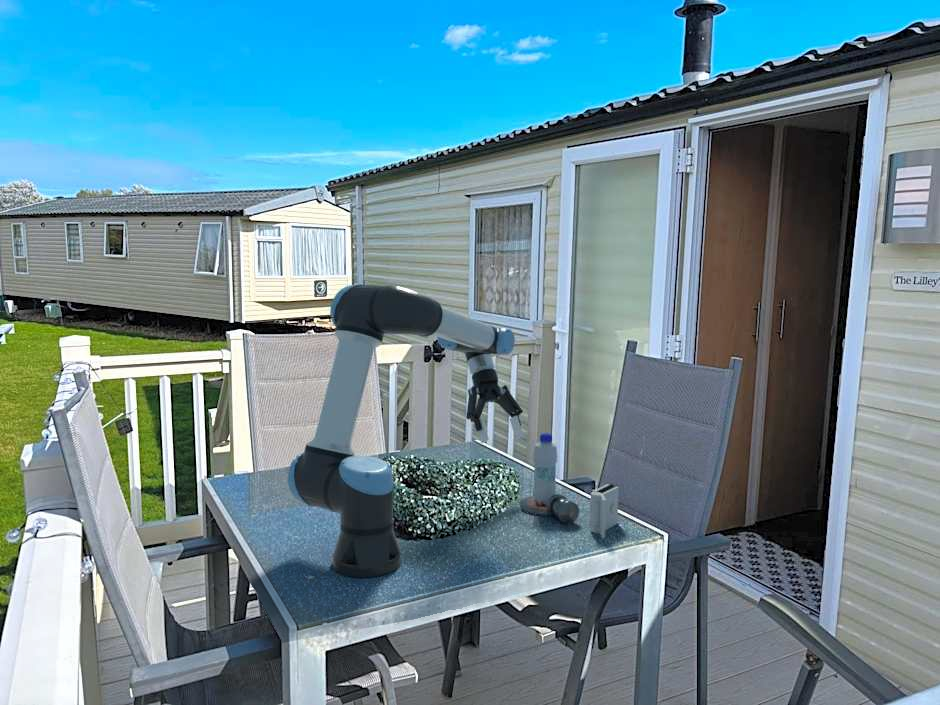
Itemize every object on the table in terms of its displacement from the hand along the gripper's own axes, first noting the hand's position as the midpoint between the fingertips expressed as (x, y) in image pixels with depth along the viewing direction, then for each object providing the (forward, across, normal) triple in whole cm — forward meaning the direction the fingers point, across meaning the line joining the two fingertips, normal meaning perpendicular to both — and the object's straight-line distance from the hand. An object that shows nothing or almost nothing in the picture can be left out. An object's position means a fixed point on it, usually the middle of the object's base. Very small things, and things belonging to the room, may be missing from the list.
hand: (502, 439), depth 196 cm
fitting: (+23, -4, +6) cm, 24 cm away
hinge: (+32, -6, +22) cm, 39 cm away
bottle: (+21, -5, +4) cm, 22 cm away
